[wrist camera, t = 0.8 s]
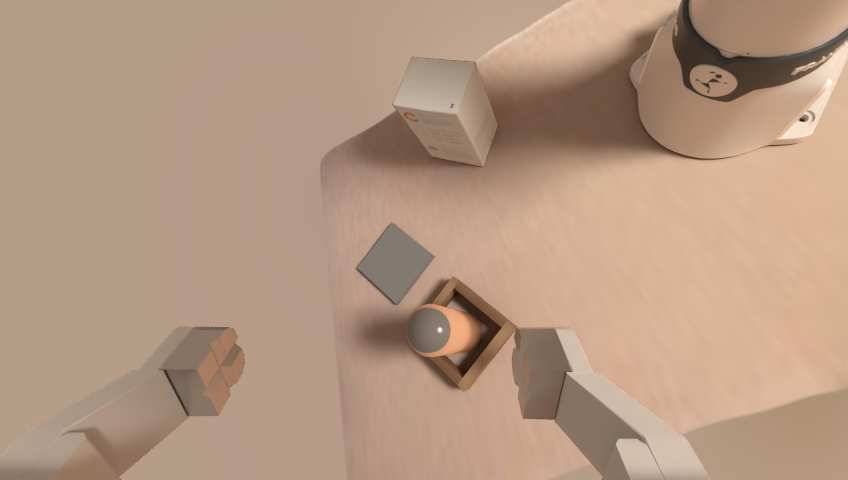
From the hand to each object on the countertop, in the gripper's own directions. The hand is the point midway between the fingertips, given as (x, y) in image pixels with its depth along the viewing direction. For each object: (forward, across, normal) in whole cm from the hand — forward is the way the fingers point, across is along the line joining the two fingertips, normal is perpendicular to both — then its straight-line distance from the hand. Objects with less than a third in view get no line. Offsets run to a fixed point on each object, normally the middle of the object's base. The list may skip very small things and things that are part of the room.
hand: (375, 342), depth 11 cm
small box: (+44, -6, +6) cm, 45 cm away
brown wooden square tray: (+26, -5, +24) cm, 36 cm away
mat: (+35, +4, +20) cm, 40 cm away
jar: (+26, -5, +24) cm, 36 cm away
